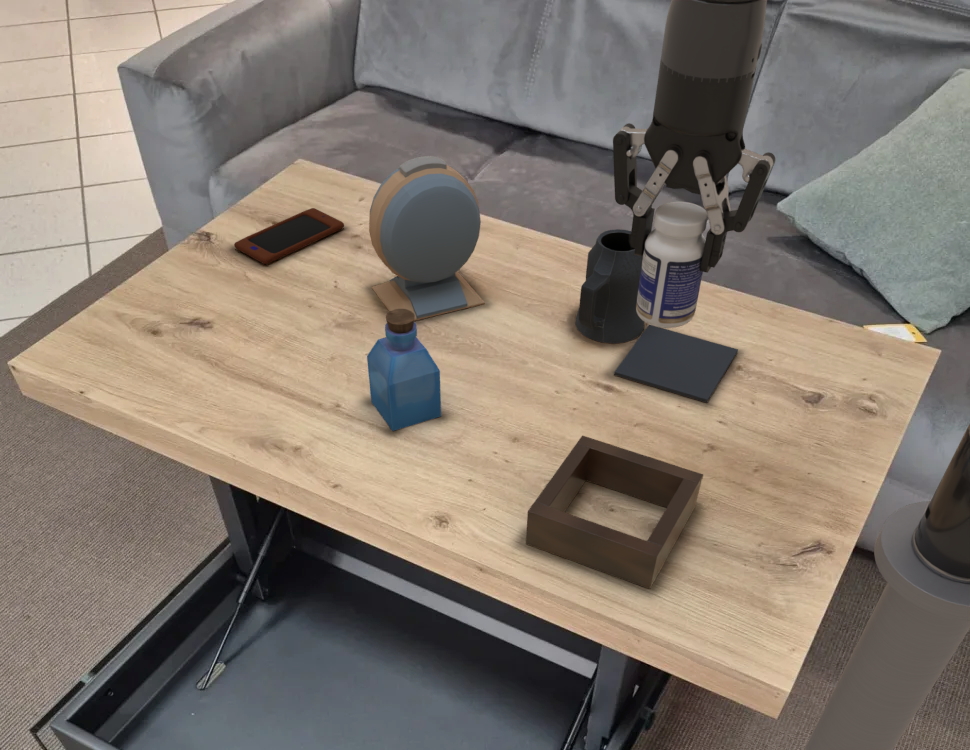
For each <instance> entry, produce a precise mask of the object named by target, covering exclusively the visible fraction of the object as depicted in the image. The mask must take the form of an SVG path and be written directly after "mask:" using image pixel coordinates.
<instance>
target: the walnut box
mask: <svg viewBox="0 0 970 750" xmlns="http://www.w3.org/2000/svg"><path fill="white" fill-rule="evenodd" d="M703 477H704V474H703V473H701V472H697V471H694V470H691V469H688V468H685V467H681V466H679V465H675V464H673V463H669V462H667V461H663V460H660V459H658V458H654V457H651V456H648V455H644V454H641V453H638V452H635V451H633V450H629V449H626V448H623V447H619V446H616V445H614V444H610V443H608V442H604V441H601V440H599V439H595V438H591V437H589V436H586V435H581V436H580V438H579V439H578V440H577V442H576V443H575V444H574V446H573V448H572V449H571V451H570V452H569V453H568V455H567V456H566V458H565V459H564V460H563V462H562V463H561V464H560V466H559V467H558V468H557V470H556V471H555V473H554V474H553V476H552V477H551V478H550V479H549V481H548V483H547V484H546V485H545V486H544V488H543V489H542V490H541V492H540V494H539V495H538V496H537V498H536V499H535V501H534V502H533V503H532V505H531V506H530V507H529V509H528V510H527V517H526V533H525V545H528V546H530V547H533V548H536V549H539V550H541V551H544V552H547V553H550V554H551V555H552V554H553V555H555V556H557V557H561V558H563V559H565V560H569V561H572V562H575V563H577V564H579V565H582V566H586V567H589V568H591V569H594V570H597V571H599V572H602V573H604V574H607V575H610V576H612V577H615V578H619V579H621V580H624V581H627V582H630V583H632V584H635V585H637V586H639V587H643V588H645V589H648V590H650V589H651V588H652V587H653V585H654V583H655V581H656V579H657V577H658V575H659V574H660V572H661V570H662V568H663V566H664V565H665V563H666V561H667V559H668V557H669V555H670V553H671V552H672V550H673V548H674V547H675V545H676V543H677V541H678V539H679V537H680V536H681V534H682V532H683V530H684V528H685V526H686V524H687V523H688V521H689V519H690V517H691V515H692V514H693V512H694V510H695V508H696V506H697V503H698V502H697V501H698V497H699V494H700V489H701V487H702V486H701V485H702V481H703ZM586 482H588V483H592V484H594V485H598V486H601V487H604V488H606V489H610V490H612V491H615V492H619V493H622V494H625V495H628V496H631V497H633V498H637V499H640V500H642V501H645V502H649V503H651V504H654V505H657V506H660V507H663V508H665V510H664V511H663V513H662V515H661V517H660V518H659V520H658V522H657V524H656V525H655V527H654V529H653V530H652V532H651V534H650V535H649V538H648V539H647V540H646V539H643V538H640V537H637V536H634V535H632V534H631V535H630V534H628V533H625V532H622V531H619V530H616V529H615V528H611V527H608V526H605V525H603V524H599V523H596V522H594V521H592V520H588V519H585V518H582V517H580V516H576V515H574V514H571V513H568V512H566V511H567V509H568V508H569V506H570V505H571V503H572V502H573V501H574V499H575V498H576V496H577V494H578V493H579V492H580V490H581V489H582V487H583V485H584V484H585V483H586Z"/></svg>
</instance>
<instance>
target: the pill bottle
mask: <svg viewBox="0 0 970 750" xmlns="http://www.w3.org/2000/svg"><path fill="white" fill-rule="evenodd" d="M707 224H708V214H707V211H706V210H705V209H704V207H703V206H701V205H699V204H695V203H693V202H688V201H670V202H666V203H663V204H660V205H659V206H658V207H657V208H656V209H655V210H654V217H653V224H652V225H653V227H654V229H653V230H651V232H650V233H649V235H648V236H647V238H646V241H645V246H644V253H643V260H642V268H641V275H640V282H639V289H638V296H637V304H636V311H637V314H638V316H639V317H640V318H641V319H642V320H643V321H644V323H645V324H648V325H653V326H656V327H660V328H663V329H673V328H674V329H675V328H680V327H683V326H685V325H687V324H689V323H690V322H691V321H692V320H693V319H694V317H695V314H696V310H697V304H698V300H699V294H700V289H701V284H702V279H703V274H704V272H702V271H700V266H701V261H702V256H703V251H704V246H705V241H706V236H705V235H704V234H703V233H704V232H705V231H706V229H707Z"/></svg>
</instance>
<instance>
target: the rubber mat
mask: <svg viewBox="0 0 970 750" xmlns="http://www.w3.org/2000/svg"><path fill="white" fill-rule="evenodd" d="M738 352H739V349H738V348H735V347H731V346H727V345H724V344H722V343H721V344H720V343H717V342H713V341H710V340H706V339H702V338H699V337H695V336H692V335H688V334H685V333H682V332H679V331H678V332H677V331H674V330H670V329H668V328H661V327H656V326H653V325H650V324H648V325H647V327H646V328H644V330H643V332H642V334H641V335H640V336H639V337H638V339H637V340H636V342H635V343H634V345H632V347H631V348H630V350H629V351H628V352H627V354H626V355H625V356H624V358H623V360H622V361H621V362H620V363H619V365H618V366H617V368H615V370H614V372H613V376H616V377H619V378H622V379H625V380H629V381H633V382H635V383H639V384H642V385H646V386H649V387H651V388H652V387H653V388H655V389H659V390H662V391H666V392H669V393H673V394H676V395H678V396H682V397H684V398H685V397H686V398H689V399H692V400H696V401H699V402H702V403H706V404H708V402H709V400H710V399H711V397H712V396H713V394H714V392H715V391H716V389H717V387H718V386H719V384H720V382H721V381H722V379H723V377H724V375H725V374H726V373H727V371H728V369H729V368H730V366H731V365H732V362H733V360H735V358H736V356H737V354H738Z"/></svg>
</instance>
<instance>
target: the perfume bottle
mask: <svg viewBox="0 0 970 750" xmlns="http://www.w3.org/2000/svg"><path fill="white" fill-rule="evenodd" d="M414 318H415V315H414V313H413V312H412V311H410V310H407V309H394V310H391V311H389V310H388V312H387V313H386V314H385V321H386V324H384V332H385V337H381V338H378V339H377V340H376V342H375V343H374V345H372V348H370V350H369V352H368V354H367V355H366V362H367V372H368V382H369V392H370V402H371V404H372V405H373V407H374V408H375V410H376V411H377V412H378V413H379V415H380V416H381V418H382V419H383V420H384V422H385V423H386V425H387V426H388V427H389V429H390V430H391V431H392V432H395V431H398V430H402V429H404V428H408V427H411V426H415V425H418V424H421V423H424V422H428V421H431V420H434V419H437V418H441V417H442V400H441V397H442V396H441V370H440V368H439V366H438V365H437V364H436V362H435V361H434V359H433V357H432V356H431V354H430V353H429V351H428V350H427V348H426V346H425V345H424V344H423V343H422V342H421V341H420V340H419V338H418V337H417V336H418V329H417V328H418V327H417V326H418V325H417V323H416V322H415V321H414Z"/></svg>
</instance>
